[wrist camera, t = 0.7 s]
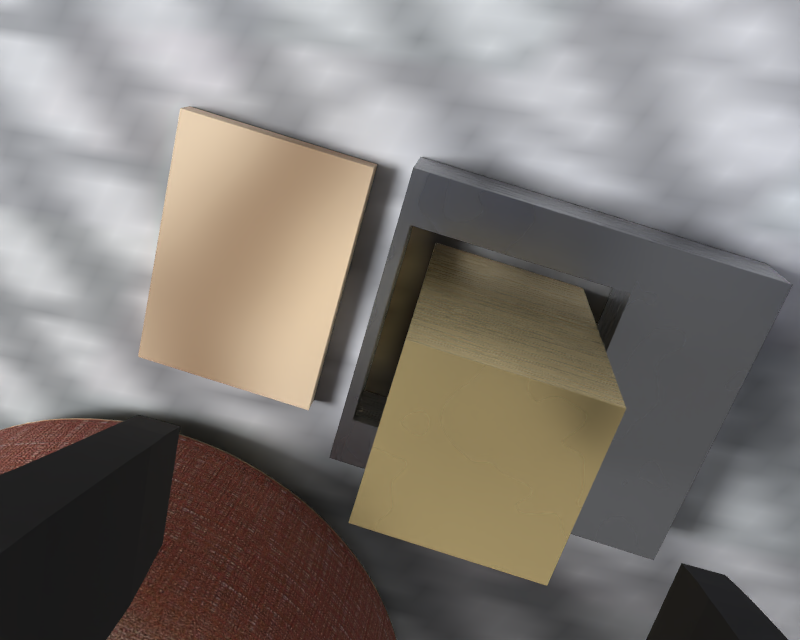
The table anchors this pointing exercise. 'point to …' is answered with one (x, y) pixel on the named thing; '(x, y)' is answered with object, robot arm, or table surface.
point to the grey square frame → (604, 335)
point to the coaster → (252, 256)
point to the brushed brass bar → (492, 418)
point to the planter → (230, 552)
